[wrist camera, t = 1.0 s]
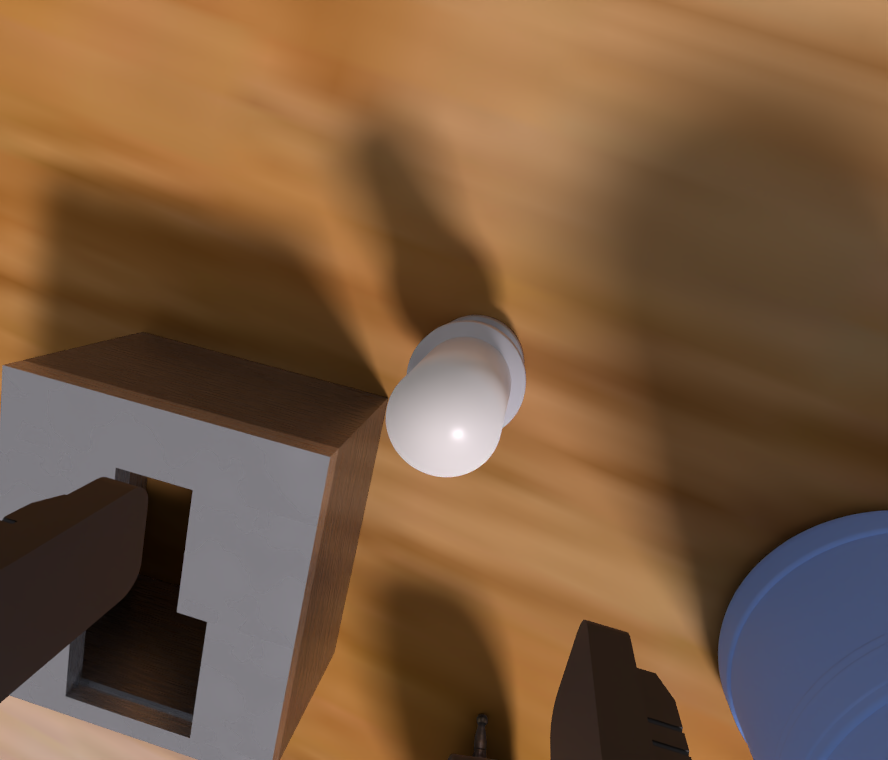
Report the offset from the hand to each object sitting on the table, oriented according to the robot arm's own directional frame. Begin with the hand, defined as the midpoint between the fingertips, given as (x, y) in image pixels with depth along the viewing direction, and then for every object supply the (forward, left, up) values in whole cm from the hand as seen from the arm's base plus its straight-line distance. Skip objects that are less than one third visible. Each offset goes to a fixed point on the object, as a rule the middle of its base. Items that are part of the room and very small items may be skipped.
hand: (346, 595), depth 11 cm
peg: (0, 0, -21) cm, 21 cm away
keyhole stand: (+11, -11, -21) cm, 26 cm away
